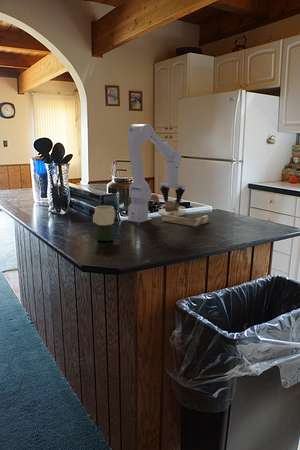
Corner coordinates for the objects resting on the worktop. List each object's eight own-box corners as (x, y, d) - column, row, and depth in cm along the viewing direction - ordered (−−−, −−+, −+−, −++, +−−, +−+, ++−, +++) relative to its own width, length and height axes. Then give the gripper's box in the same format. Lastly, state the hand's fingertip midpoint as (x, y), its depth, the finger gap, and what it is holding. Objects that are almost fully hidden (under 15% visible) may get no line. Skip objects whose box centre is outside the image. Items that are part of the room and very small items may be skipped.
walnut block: (173, 212, 190) (173, 202, 189) (165, 211, 193) (165, 201, 192) (178, 210, 194) (178, 201, 193) (170, 209, 197) (170, 200, 196)
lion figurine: (140, 208, 208) (140, 192, 206) (135, 206, 212) (135, 190, 210) (162, 205, 215) (162, 190, 213) (157, 204, 220) (157, 188, 218)
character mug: (108, 236, 151) (108, 204, 148) (121, 239, 146) (121, 206, 143) (87, 241, 143) (86, 208, 140) (100, 245, 138) (99, 210, 135)
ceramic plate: (175, 217, 185) (175, 215, 184) (153, 213, 193) (153, 211, 193) (190, 212, 195) (190, 210, 195) (168, 209, 204) (168, 207, 203)
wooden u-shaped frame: (194, 226, 167) (194, 219, 166) (161, 220, 178) (161, 214, 177) (208, 221, 176) (208, 215, 175) (175, 216, 187) (175, 210, 186)
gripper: (189, 175, 188) (188, 202, 191) (165, 173, 197) (165, 199, 200) (181, 177, 183) (180, 204, 186) (157, 174, 192) (157, 201, 195)
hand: (172, 202), depth 193 cm, fingers open, 7 cm apart
